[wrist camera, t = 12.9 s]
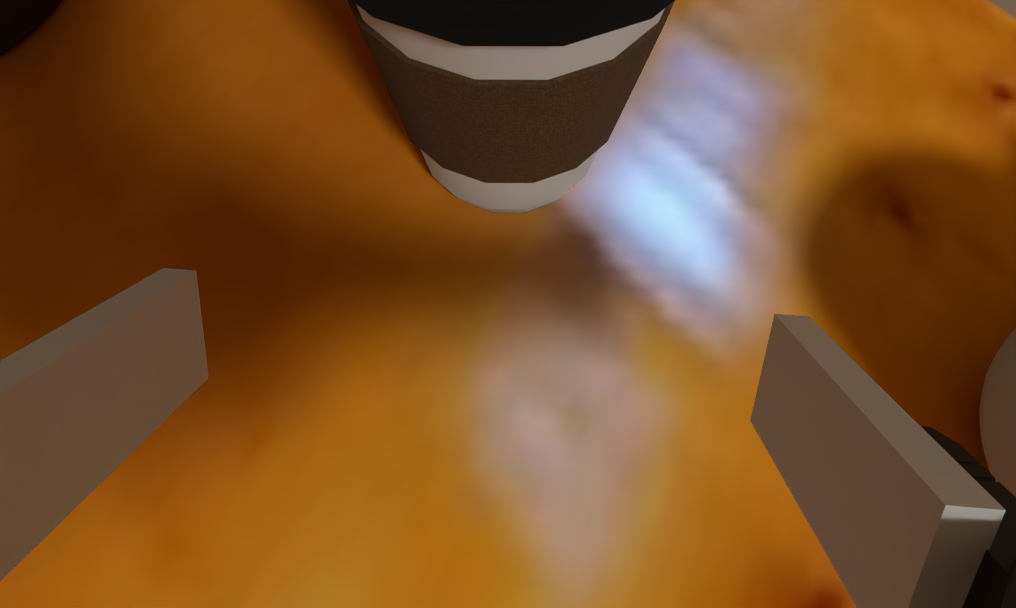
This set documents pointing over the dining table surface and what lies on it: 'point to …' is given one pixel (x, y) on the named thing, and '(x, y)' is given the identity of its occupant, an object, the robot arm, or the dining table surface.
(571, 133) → the coffee cup
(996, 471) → the teacup
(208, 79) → the dining table surface
